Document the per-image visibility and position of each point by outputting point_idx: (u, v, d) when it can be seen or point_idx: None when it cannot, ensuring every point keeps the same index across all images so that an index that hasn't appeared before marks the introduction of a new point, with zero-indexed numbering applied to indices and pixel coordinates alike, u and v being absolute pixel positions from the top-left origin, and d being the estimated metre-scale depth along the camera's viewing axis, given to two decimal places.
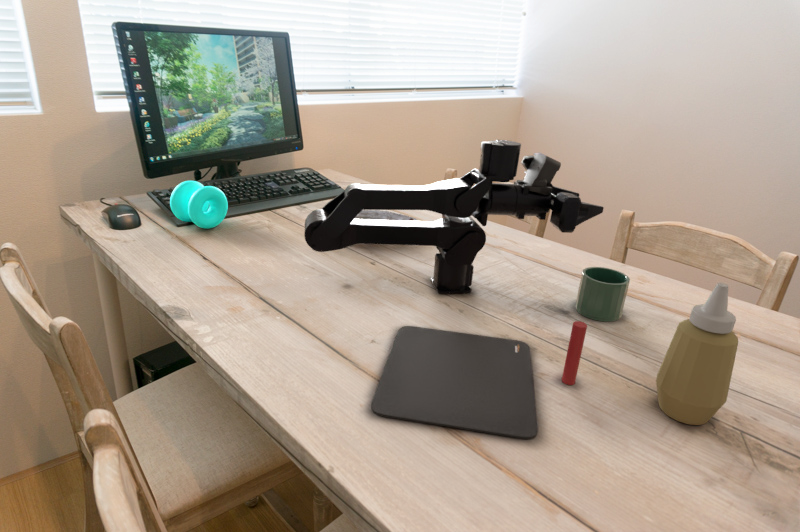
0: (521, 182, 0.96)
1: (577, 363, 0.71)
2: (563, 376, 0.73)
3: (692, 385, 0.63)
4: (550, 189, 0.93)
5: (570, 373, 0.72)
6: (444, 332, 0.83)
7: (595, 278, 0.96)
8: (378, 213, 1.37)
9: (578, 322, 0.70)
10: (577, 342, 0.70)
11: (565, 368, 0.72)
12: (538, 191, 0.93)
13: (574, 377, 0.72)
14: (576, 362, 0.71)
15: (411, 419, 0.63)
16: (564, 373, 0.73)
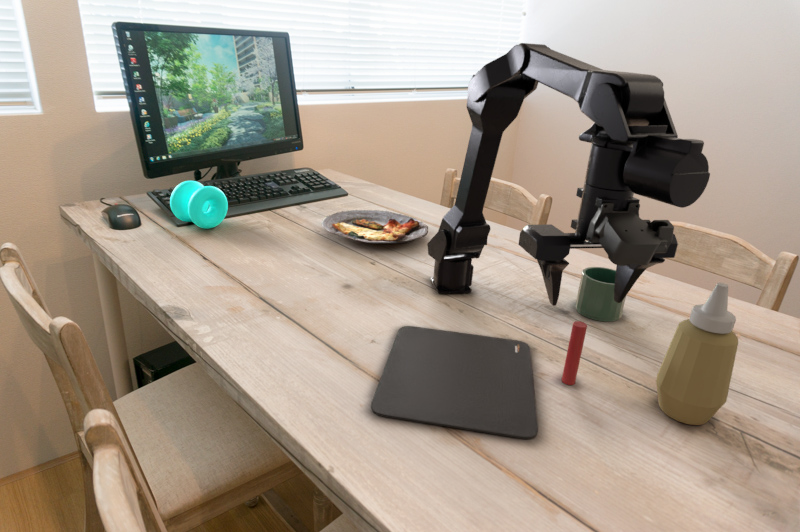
0: (628, 207, 0.61)
1: (577, 363, 0.71)
2: (563, 376, 0.73)
3: (692, 385, 0.63)
4: (590, 239, 0.62)
5: (570, 373, 0.72)
6: (444, 332, 0.83)
7: (595, 278, 0.96)
8: (378, 213, 1.37)
9: (578, 322, 0.70)
10: (577, 342, 0.70)
11: (565, 368, 0.72)
12: (592, 220, 0.62)
13: (574, 377, 0.72)
14: (576, 362, 0.71)
15: (411, 419, 0.63)
16: (564, 373, 0.73)
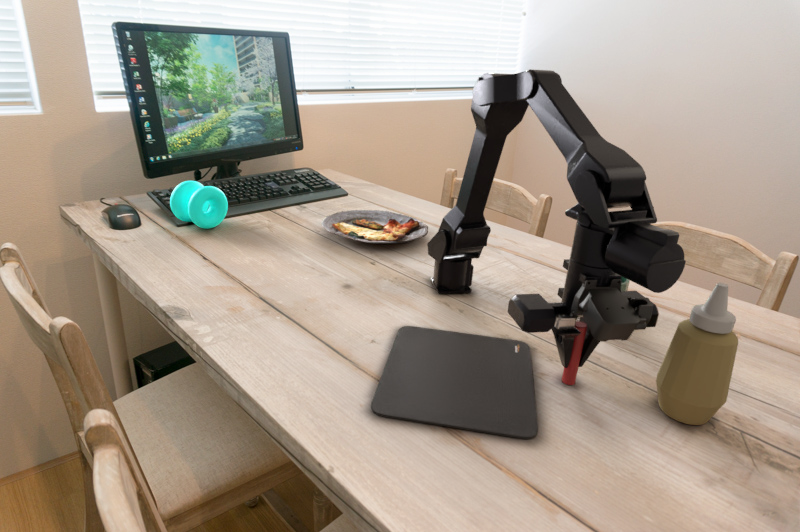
0: (611, 283, 0.65)
1: (577, 363, 0.71)
2: (563, 376, 0.73)
3: (692, 385, 0.63)
4: (575, 312, 0.65)
5: (570, 373, 0.72)
6: (444, 332, 0.83)
7: None
8: (378, 213, 1.37)
9: (578, 322, 0.70)
10: (577, 342, 0.70)
11: (565, 368, 0.72)
12: (577, 295, 0.65)
13: (574, 377, 0.72)
14: (576, 362, 0.71)
15: (411, 419, 0.63)
16: (564, 373, 0.73)
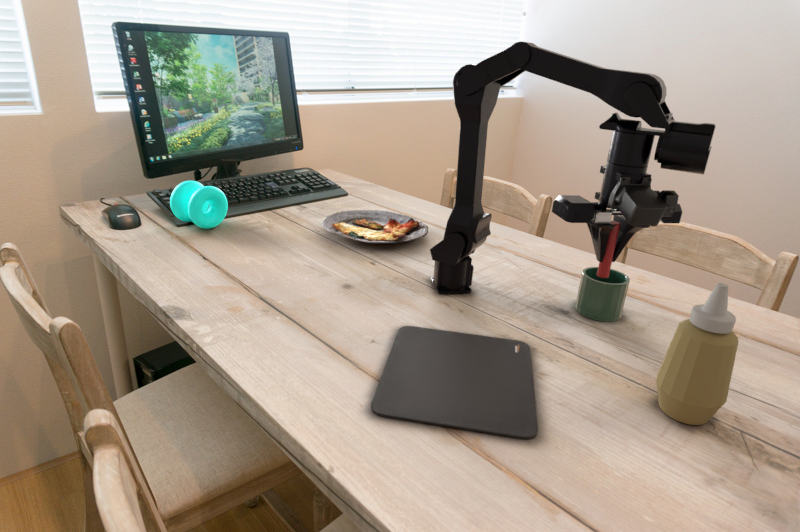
0: (642, 180, 0.76)
1: (611, 257, 0.83)
2: (598, 271, 0.85)
3: (692, 385, 0.63)
4: (611, 206, 0.77)
5: (605, 267, 0.84)
6: (444, 332, 0.83)
7: (595, 278, 0.96)
8: (378, 213, 1.37)
9: (612, 221, 0.82)
10: (611, 238, 0.82)
11: (600, 263, 0.84)
12: (613, 191, 0.77)
13: (608, 271, 0.84)
14: (610, 257, 0.83)
15: (411, 419, 0.63)
16: (599, 268, 0.84)
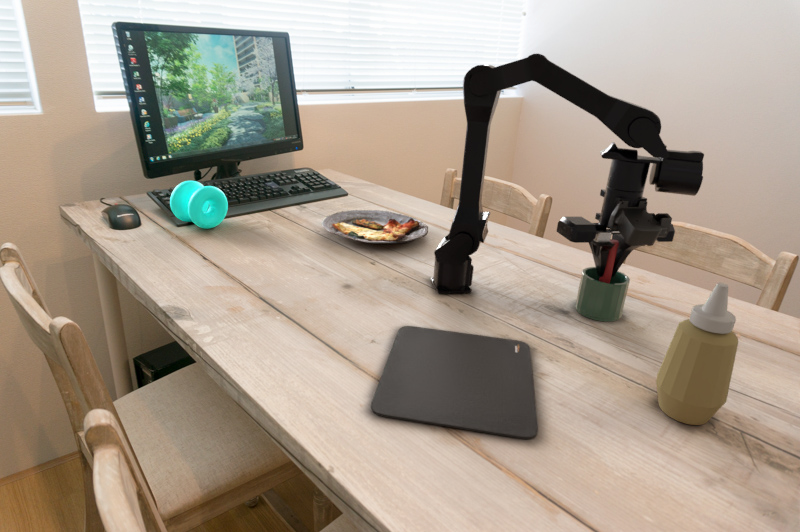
0: (639, 204, 0.84)
1: (610, 272, 0.91)
2: None
3: (692, 385, 0.63)
4: (611, 227, 0.85)
5: (605, 281, 0.91)
6: (444, 332, 0.83)
7: (595, 278, 0.96)
8: (378, 213, 1.37)
9: (612, 239, 0.90)
10: (611, 255, 0.89)
11: (601, 277, 0.92)
12: (612, 213, 0.85)
13: None
14: (609, 272, 0.91)
15: (411, 419, 0.63)
16: None
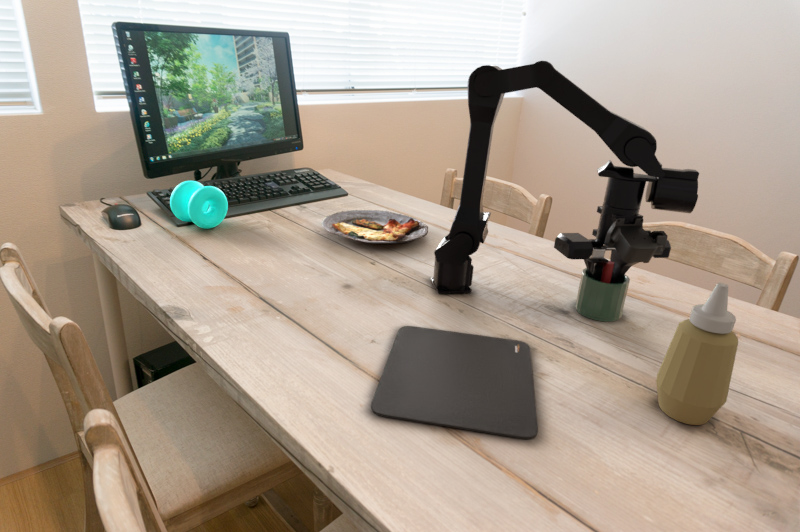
0: (635, 221, 0.85)
1: None
2: None
3: (692, 385, 0.63)
4: (607, 244, 0.86)
5: None
6: (444, 332, 0.83)
7: None
8: (378, 213, 1.37)
9: None
10: (606, 276, 0.91)
11: None
12: (609, 230, 0.86)
13: None
14: None
15: (411, 419, 0.63)
16: None
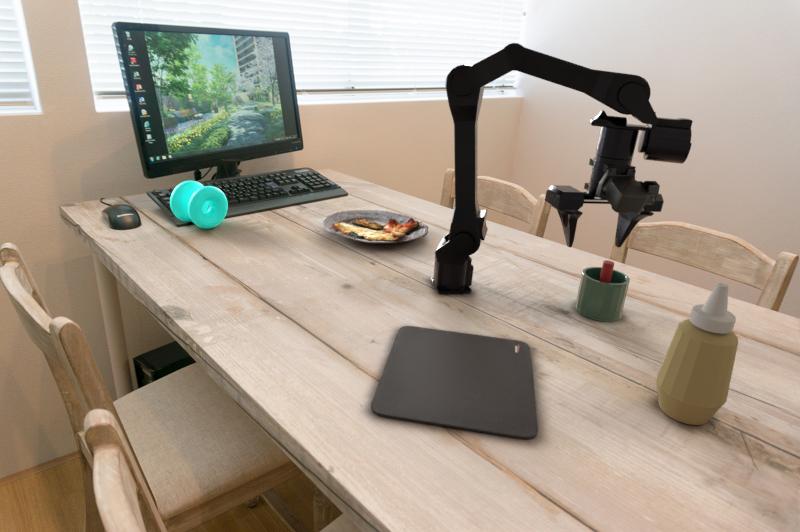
0: (627, 172, 0.84)
1: None
2: None
3: (692, 385, 0.63)
4: (599, 195, 0.85)
5: None
6: (444, 332, 0.83)
7: (595, 278, 0.96)
8: (378, 213, 1.37)
9: (607, 261, 0.91)
10: (606, 276, 0.91)
11: None
12: (600, 181, 0.84)
13: None
14: None
15: (411, 419, 0.63)
16: None
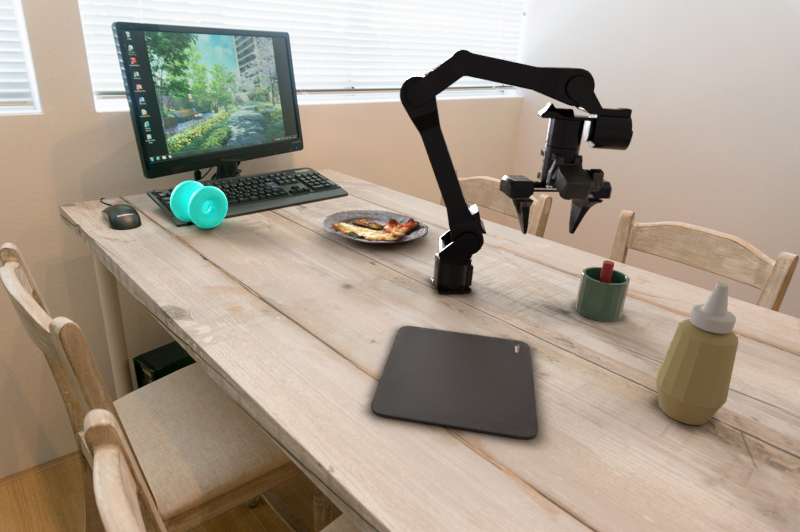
0: (574, 161, 0.88)
1: None
2: None
3: (692, 385, 0.63)
4: (548, 183, 0.89)
5: None
6: (444, 332, 0.83)
7: (595, 278, 0.96)
8: (378, 213, 1.37)
9: (607, 261, 0.91)
10: (606, 276, 0.91)
11: None
12: (549, 170, 0.88)
13: None
14: None
15: (411, 419, 0.63)
16: None
